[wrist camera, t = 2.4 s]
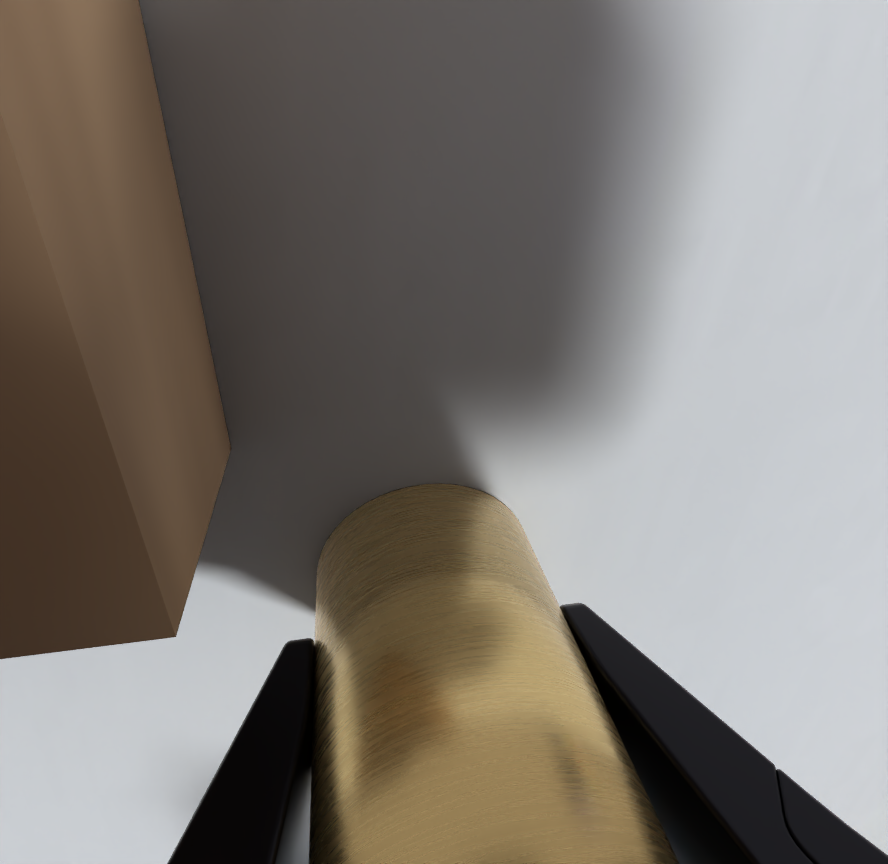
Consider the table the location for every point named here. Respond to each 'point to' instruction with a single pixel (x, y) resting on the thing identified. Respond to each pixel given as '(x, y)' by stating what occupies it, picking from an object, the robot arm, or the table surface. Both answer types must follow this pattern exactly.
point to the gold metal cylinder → (459, 700)
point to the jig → (96, 341)
